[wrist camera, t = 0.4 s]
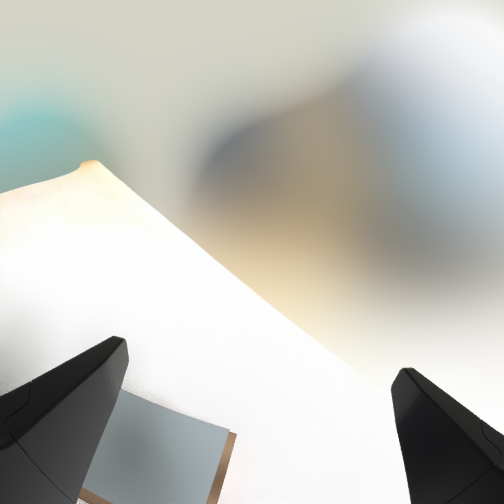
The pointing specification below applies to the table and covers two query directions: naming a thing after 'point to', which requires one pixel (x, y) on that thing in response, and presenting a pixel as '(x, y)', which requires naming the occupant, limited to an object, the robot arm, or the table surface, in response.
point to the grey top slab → (154, 455)
